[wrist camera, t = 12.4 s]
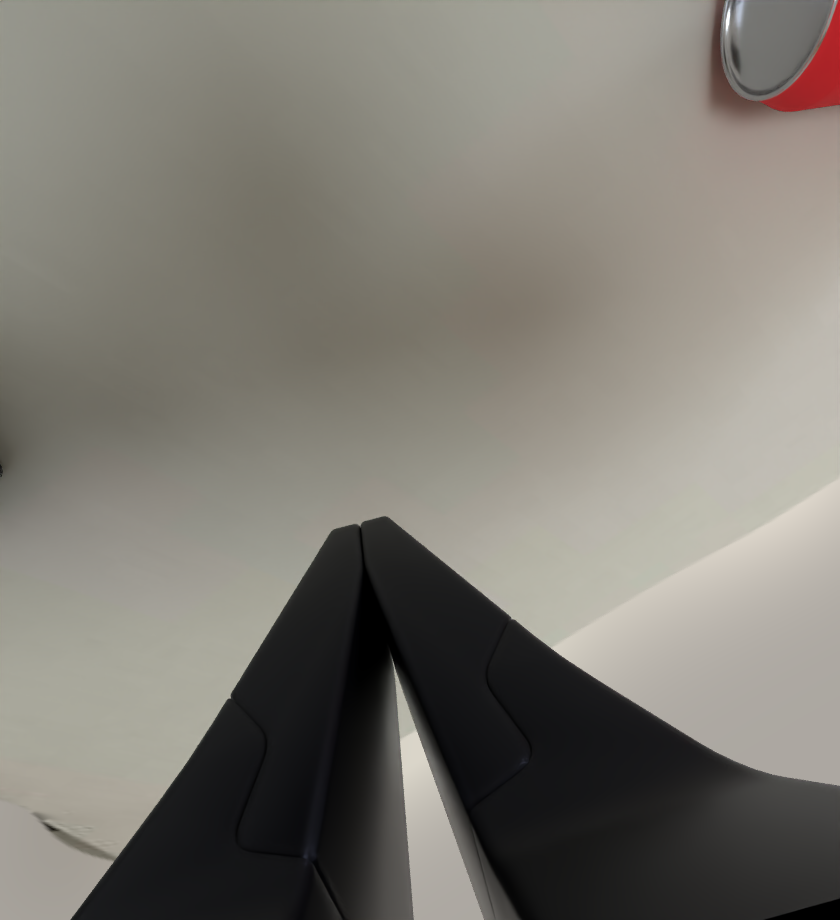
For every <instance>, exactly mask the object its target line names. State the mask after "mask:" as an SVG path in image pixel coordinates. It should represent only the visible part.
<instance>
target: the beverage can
mask: <svg viewBox="0 0 840 920" xmlns="http://www.w3.org/2000/svg"><path fill="white" fill-rule="evenodd" d="M720 48H721V58H722V64H723V68H724V72H725V75H726V77H727V80H728V82H729V84H730V85H731V87H732V88H733V90H734V91H735V92H736V93H737V94H738V95H739V96H741V97H742V98H744V99H747V100H750V101H759V102H761V103H763V104H765V105H767V106H769V107H771V108H773V109H775V110H779V111H784V112H792V111H800V110H807V109H813V108H820V107H827V106H834V105H840V0H725V3H724V8H723V13H722V21H721V32H720Z"/></svg>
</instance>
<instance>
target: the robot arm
mask: <svg viewBox="0 0 840 920" xmlns="http://www.w3.org/2000/svg"><path fill="white" fill-rule="evenodd" d="M2 473H3V470H2V466H1V465H0V477H1V476H2ZM360 527H361V528H360ZM392 659H393V661H392ZM393 662H394V665H395V669H396V672H397V675H398V678H399V681H400V684H401V687H402V690H403V693H404V695H405V698H406V701H407V704H408V707H409V709H410V712H411V715H412V718H413V721H414V723H415V726H416V729H417V732H418V735H419V737H420V740H421V743H422V746H423V749H424V752H425V754H426V757H427V760H428V763H429V766H430V768H431V771H432V774H433V777H434V780H435V783H436V785H437V788H438V791H439V794H440V797H441V799H442V802H443V805H444V808H445V811H446V813H447V816H448V819H449V822H450V825H451V827H452V830H453V833H454V836H455V839H456V842H457V844H458V847H459V850H460V853H461V856H462V858H463V861H464V864H465V867H466V870H467V872H468V875H469V878H470V881H471V884H472V887H473V889H474V892H475V895H476V898H477V900H478V903H479V906H480V909H481V912H482V914H483V917H484V920H840V786H837V785H831V784H825V783H818V782H812V781H806V780H799V779H793V778H787V777H782V776H777V775H772V774H769V773H765V772H762V771H758V770H755V769H753V768H750V767H748V766H745V765H743V764H740V763H738V762H735V761H733V760H731V759H729V758H727V757H725V756H723V755H720V754H718V753H716V752H714V751H713V750H711V749H709V748H707V747H706V746H704V745H702V744H700V743H699V742H697V741H695V740H694V739H692V738H691V737H689V736H687V735H686V734H684V733H682V732H681V731H679V730H678V729H676V728H674V727H673V726H671V725H670V724H668V723H666V722H665V721H663V720H661V719H660V718H658V717H657V716H655V715H653V714H652V713H650V712H649V711H647V710H645V709H643V708H642V707H640V706H639V705H637V704H636V703H634V702H632V701H631V700H629V699H627V698H626V697H624V696H623V695H621V694H619V693H618V692H616V691H615V690H613V689H611V688H610V687H608V686H606V685H605V684H603V683H602V682H600V681H598V680H597V679H595V678H594V677H592V676H591V675H589V674H588V673H586V672H584V671H583V670H582V669H580V668H578V667H577V666H575V665H574V664H572V663H571V662H569V661H568V660H566V659H565V658H563V657H562V656H560V655H559V654H558V653H556V652H555V651H554V650H552V649H551V648H550V647H549V646H547V645H546V644H545V643H543V642H542V641H541V640H539V639H538V638H537V637H535V636H534V635H533V634H531V633H530V632H529V631H528V630H527V629H525V628H524V627H523V626H522V625H520V624H519V623H518V622H517V621H516V620H514V619H511V617H510V616H509V615H508V614H507V613H505V612H504V611H503V610H502V609H500V608H499V607H498V606H497V605H496V604H494V603H493V602H492V601H491V600H489V599H488V598H487V597H486V596H484V595H483V594H482V593H481V592H480V591H478V590H477V589H476V588H475V587H473V586H472V585H471V584H470V583H468V582H467V581H466V580H465V579H464V578H462V577H461V576H460V575H459V574H457V573H456V572H455V571H454V570H452V569H451V568H450V567H449V566H448V565H446V564H445V563H444V562H443V561H441V560H440V559H439V558H438V557H437V556H435V555H434V554H433V553H432V552H430V551H429V550H428V549H427V548H425V547H424V546H423V545H422V544H421V543H419V542H418V541H417V540H416V539H414V538H413V537H412V536H411V535H409V534H408V533H407V532H406V531H405V530H403V529H402V528H401V527H400V526H398V525H397V524H396V523H395V522H393V521H392V520H391V519H390V518H388V517H386V516H383V517H379V518H375V519H372V520H368V521H364V522H363V523H362V524H361V526H359V525H357V524H353V525H349V526H345V527H341V528H337V529H334V530H332V531H331V533H330V534H329V536H328V537H327V539H326V541H325V542H324V544H323V545H322V547H321V549H320V550H319V552H318V554H317V555H316V557H315V558H314V560H313V562H312V563H311V565H310V567H309V568H308V570H307V571H306V573H305V575H304V576H303V578H302V580H301V581H300V583H299V584H298V586H297V588H296V589H295V591H294V593H293V594H292V596H291V597H290V599H289V601H288V602H287V604H286V605H285V607H284V609H283V610H282V612H281V614H280V615H279V617H278V618H277V620H276V622H275V623H274V625H273V627H272V628H271V630H270V631H269V633H268V635H267V636H266V638H265V640H264V641H263V643H262V644H261V646H260V648H259V649H258V651H257V652H256V654H255V656H254V657H253V659H252V661H251V662H250V664H249V665H248V667H247V669H246V670H245V672H244V674H243V675H242V677H241V678H240V680H239V682H238V683H237V685H236V687H235V688H234V690H233V691H232V693H231V699H228V700H227V701H226V702H225V704H224V706H223V707H222V709H221V710H220V712H219V714H218V715H217V717H216V718H215V720H214V722H213V723H212V725H211V726H210V728H209V730H208V731H207V733H206V734H205V736H204V737H203V739H202V740H201V742H200V743H199V745H198V746H197V748H196V749H195V751H194V752H193V754H192V756H191V757H190V759H189V760H188V762H187V763H186V765H185V766H184V767H183V769H182V770H181V772H180V773H179V774H178V776H177V777H176V778H175V780H174V781H173V783H172V784H171V785H170V787H169V788H168V790H167V791H166V792H165V794H164V795H163V797H162V798H161V799H160V801H159V802H158V804H157V805H156V806H155V808H154V809H153V810H152V812H151V813H150V814H149V816H148V817H147V818H146V820H145V821H144V822H143V824H142V825H141V826H140V828H139V829H138V830H137V832H136V833H135V834H134V836H133V837H132V838H131V840H130V841H129V842H128V844H127V845H126V846H125V848H124V849H123V850H122V852H121V853H120V854H119V856H118V857H117V858H116V860H115V861H114V862H113V864H112V865H111V866H110V868H109V869H108V871H107V872H106V873H105V875H104V876H103V877H102V879H101V880H100V881H99V882H98V884H97V885H96V886H95V888H94V889H93V890H92V892H91V893H90V894H89V896H88V897H87V898H86V900H85V901H84V903H83V904H82V905H81V907H80V908H79V909H78V911H77V912H76V913H75V915H74V916H73V917H72V919H71V920H414V919H413V906H412V893H411V880H410V868H409V854H408V841H407V828H406V815H405V803H404V789H403V776H402V763H401V750H400V737H399V723H398V710H397V697H396V684H395V675H394V666H393Z"/></svg>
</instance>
